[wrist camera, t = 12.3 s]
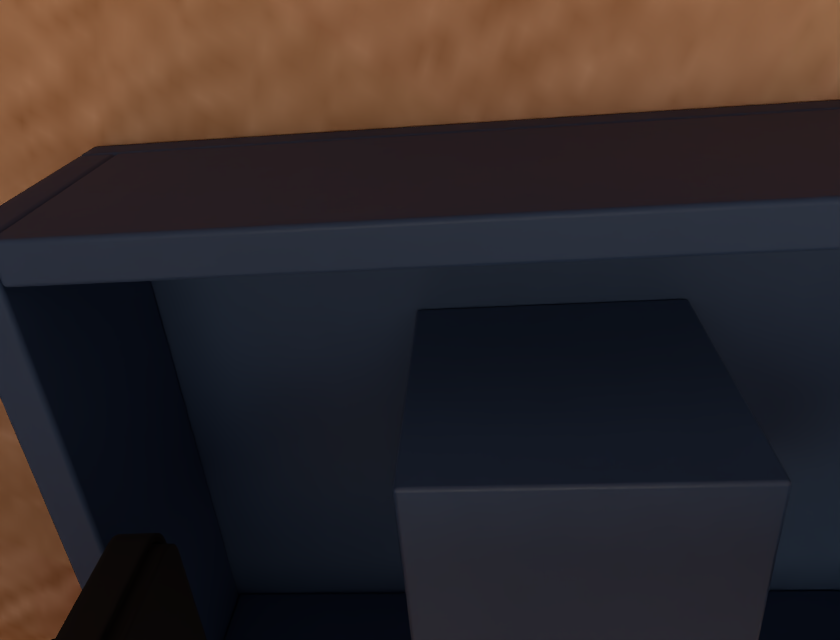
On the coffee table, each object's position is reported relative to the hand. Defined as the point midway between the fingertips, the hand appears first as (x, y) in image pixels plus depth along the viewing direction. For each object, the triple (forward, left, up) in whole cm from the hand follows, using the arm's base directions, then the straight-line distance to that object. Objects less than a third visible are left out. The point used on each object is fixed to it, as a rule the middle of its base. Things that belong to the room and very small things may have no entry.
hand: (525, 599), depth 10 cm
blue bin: (+1, 0, -4) cm, 4 cm away
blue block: (+1, 0, -4) cm, 4 cm away
